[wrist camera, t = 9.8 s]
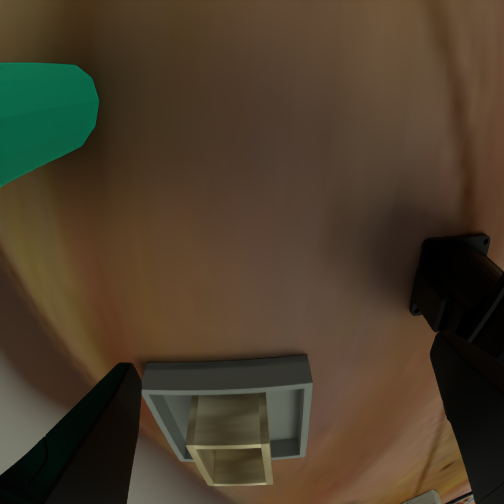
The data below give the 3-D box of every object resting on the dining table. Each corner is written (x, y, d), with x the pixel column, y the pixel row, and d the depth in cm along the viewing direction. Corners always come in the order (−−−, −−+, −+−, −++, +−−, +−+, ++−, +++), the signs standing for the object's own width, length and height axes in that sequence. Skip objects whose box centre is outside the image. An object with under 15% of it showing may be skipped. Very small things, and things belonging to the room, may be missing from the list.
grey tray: (307, 354, 25) (312, 382, 22) (301, 434, 31) (305, 456, 28) (147, 362, 25) (139, 389, 22) (182, 439, 31) (180, 461, 28)
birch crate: (265, 381, 25) (269, 443, 20) (269, 433, 29) (273, 484, 24) (193, 384, 25) (185, 445, 20) (211, 436, 29) (208, 485, 24)
